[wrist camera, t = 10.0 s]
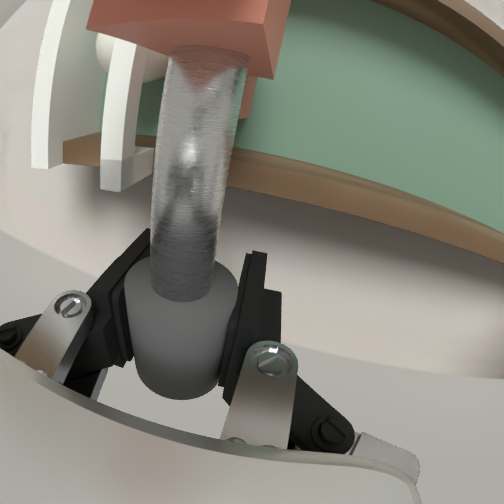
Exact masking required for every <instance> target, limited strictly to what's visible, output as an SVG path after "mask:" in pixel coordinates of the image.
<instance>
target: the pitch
mask: <svg viewBox="0 0 504 504" xmlns="http://www.w3.org/2000/svg"><path fill="white" fill-rule="evenodd" d="M107 81H108V73H107V72H106V75H105V82H104V89H103V97H102V105H101V115H100V127H99V132H98V133H93V134H89V135H85V136H81V137H78V138H74V139H70V140H67V141H63V163H65V164H76V165H86V166H96V167H100V158H101V137H102V123H103V113H104V103H105V95H106V87H107ZM164 82H165V76H164V77H162V78H160V79H157V80H154V81H151V82H146V83H142V88H141V95H140V102H139V109H138V118H137V127H136V137H135V146H139V147H149V148H154V153H153V165H152V174H153V170H154V159H155V148H156V139H157V130H158V122H159V114H160V107H161V100H162V94H163V88H164ZM226 186H228V187H234V188H239V189H244V190H249V191H254V192H258V193H263V194H268V195H272V196H277V197H282V198H286V199H290V200H295V201H299V202H303V203H308V204H312V205H316V206H320V207H324V208H328V209H332V210H336V211H340V212H344V213H348V214H351V215H355V216H359V217H363V218H366V219H370V220H373V221H377V222H381V223H384V224H387V225H391V226H394V227H398V228H401V229H404V230H408V231H411V232H414V233H417V234H421V235H424V236H427V237H430V238H433V239H436V240H439V241H442V242H445V243H448V244H451V245H454V246H457V247H460V248H463V249H466V250H469V251H471V252H474V253H477V254H480V255H482V256H485V257H488V258H491V259H493V260H496V261H498V262H501V263H504V30H502V29H501V28H500V27H499V26H498V25H496V24H495V23H494V22H493V21H492V20H490V19H489V18H488V17H486V16H485V15H484V14H482V13H481V12H480V11H478V10H477V9H476V8H474V7H473V6H471V5H470V4H469V3H467V2H466V1H464V0H291V4H290V8H289V12H288V17H287V21H286V26H285V30H284V35H283V40H282V44H281V49H280V53H279V58H278V63H277V67H276V72H275V77H274V80H271V79H266V78H260V77H258V78H257V83H256V88H255V92H254V97H253V102H252V107H251V112H250V117H248V118H243V119H238V121H237V127H236V132H235V138H234V143H233V149H232V154H231V160H230V166H229V172H228V178H227V184H226Z"/></svg>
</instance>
